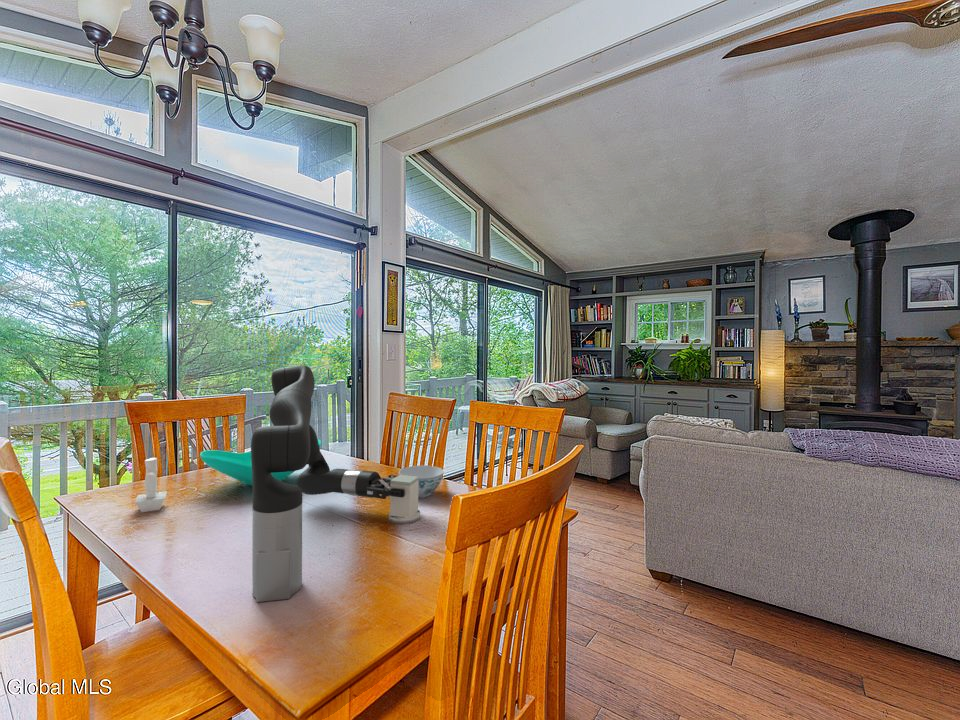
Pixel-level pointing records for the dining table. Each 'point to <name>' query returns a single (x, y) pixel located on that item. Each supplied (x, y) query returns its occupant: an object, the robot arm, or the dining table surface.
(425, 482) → the chinaware
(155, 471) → the figurine
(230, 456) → the table top decor
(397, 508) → the pale green block
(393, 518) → the grey post on dish
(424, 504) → the dining table surface
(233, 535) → the dining table surface
